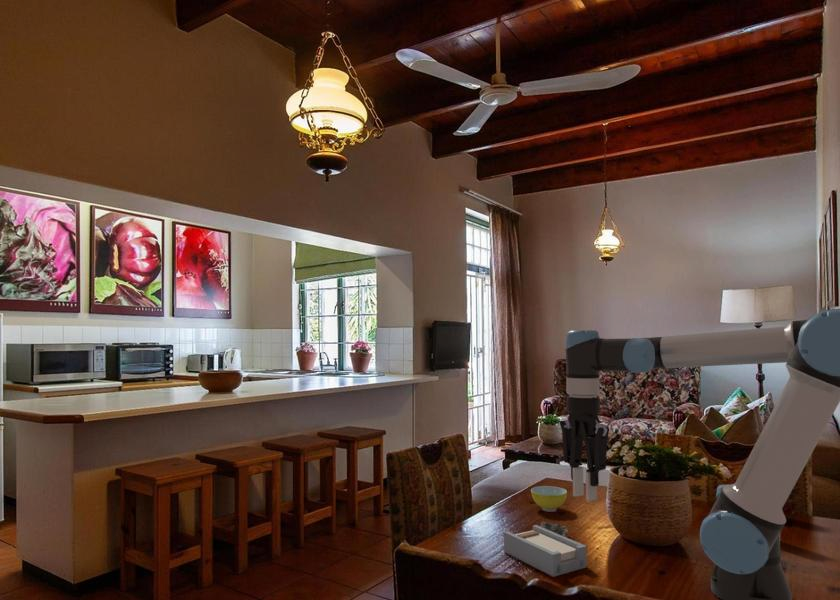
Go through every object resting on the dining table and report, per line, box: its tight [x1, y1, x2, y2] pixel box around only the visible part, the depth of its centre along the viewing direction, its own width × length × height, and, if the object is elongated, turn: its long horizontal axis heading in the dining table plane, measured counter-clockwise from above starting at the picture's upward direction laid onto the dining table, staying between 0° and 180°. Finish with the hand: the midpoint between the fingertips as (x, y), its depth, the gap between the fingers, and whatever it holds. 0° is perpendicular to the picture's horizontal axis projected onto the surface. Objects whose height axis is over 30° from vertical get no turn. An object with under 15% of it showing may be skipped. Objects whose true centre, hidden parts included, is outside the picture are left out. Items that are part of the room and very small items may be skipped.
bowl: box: [530, 485, 568, 513], centre depth 184 cm, size 11×12×6 cm
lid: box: [515, 529, 576, 562], centre depth 144 cm, size 16×8×2 cm, turn 31°
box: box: [503, 524, 588, 578], centre depth 144 cm, size 18×11×5 cm, turn 31°
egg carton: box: [539, 520, 569, 538], centre depth 157 cm, size 11×8×4 cm
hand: (584, 497), depth 133 cm, fingers open, 3 cm apart
